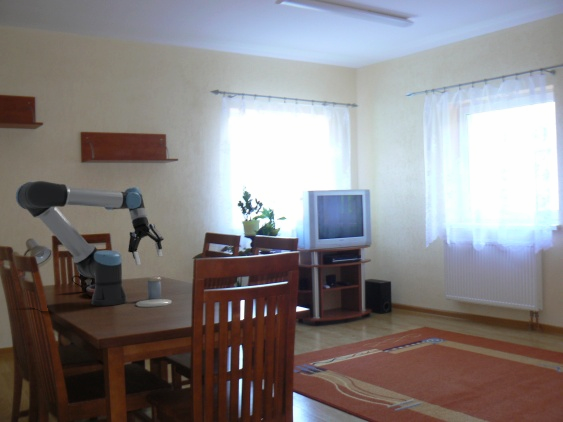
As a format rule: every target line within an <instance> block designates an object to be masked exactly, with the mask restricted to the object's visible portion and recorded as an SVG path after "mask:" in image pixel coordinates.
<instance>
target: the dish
mask: <svg viewBox="0 0 563 422" xmlns="http://www.w3.org/2000/svg"><path fill="white" fill-rule="evenodd" d="M86 290H87V292H86V293H87V294H88V296H90V297H93V294H94V290H95V284H94V285H90V286H88V287H87V288H86Z"/></svg>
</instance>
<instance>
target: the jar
mask: <svg viewBox="0 0 563 422" xmlns="http://www.w3.org/2000/svg"><path fill="white" fill-rule="evenodd" d="M146 282H147V300H154V299H162V276H152V277H151V276H150V277H146Z"/></svg>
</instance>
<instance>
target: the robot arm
mask: <svg viewBox="0 0 563 422" xmlns="http://www.w3.org/2000/svg"><path fill="white" fill-rule="evenodd" d="M15 200H16V202H17V204H18V206H19V207H21V209H24V210H26V211H28V212H29V213H30V214H31V216H32V217H33V218H36V219H37V218H39V220H41V222H42V223H43V224H44V225H45V226H46V227H47V228H48V230H49V231H51V234H53V235H54V237H56V238H57V240H58V241H59V242H60V243H61V244H62V246H63V247H64V248H65V249H66V250H67V251H68V252H69V253H70V254H71V255H72V256H73V263H74V264H75V265H76V269H77V271H78V274H79V273H80V274H81V275H83V276H85V277H88V278H95V290H94V294H93V297H92V296H91V297H92V298H91V305H92V306H98V307H102V306H117V305H122V304H123V305H124V304H126V303H128V302H127V301H128V297H127V294H126V292H125V289H124V287H123V269H122V267H123V266H122V262H123V261H122V260H123V259H122V253H121V252H119V251H116V250H109V249H107V250H106V249H105V250H104V249H103V250H99V249H98V248H97V247H96V246H95V245H94V244H89V243H88V241H86V239H85V238H84V237H83V236H82V235H81V234H80V233H79V231H78V230H77V229H76V228H75V227H74V226H73V224H72V223H71V222H70V221H69V219H67V217H66V216H65V215H64V213H62V212H61V210H60V209H59V208H61V207H65V206H66V205H67V206H68V205H69V206H82V207H85V206H86V207H97V208H98V207H99V208H105V210H107V211H108V210H109V211H110V210H111V211H113V210H129V215H130V220H131V223H132V228H133V229H134V231H130V232H129V242H128V249H127V252H128V253H131V254H132V259H134V261H135V264H136V265H135V266H139V265H140V266H141V265H142V263H141V259H140V254H139V251H137V250H138V247H139V245H140V243H141V240H143V239H144V238H145V237H149V239H151V240H152V241H154V242H155V243H154V246H155V249H156V253H157V257H161V258H162V257H164V255H163V252H162V249H163V246H162V241H164V237H163V236H162V235H161V233H160V231H158V230H157V227H156V226H155V224H154V223H149V219H148V217H147V211H146V207H145V203H144V200H143V195H142V191H141V189H140V188H139V187H137V186H135V187H129V188H127V189H126V190H124V191H118V190H117V191H116V190H108V189H107V190H106V189H105V190H104V189H93V188H85V187H84V188H83V187H82V188H81V187H71V186H70V187H69V186H67V185H66V184H64V183H55V182H50V181H46V180H45V181H43V180H38V181H37V180H36V181H28V182H25V183H23V184H21V185H20V186H19V187H18V188H17V190H16V193H15ZM58 207H59V208H58ZM150 230H151V231H150ZM80 274H79V275H80Z"/></svg>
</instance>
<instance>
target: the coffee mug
mask: <svg viewBox="0 0 563 422" xmlns="http://www.w3.org/2000/svg"><path fill="white" fill-rule="evenodd" d="M78 274H79V275H73V276H72V277H71V282H72V283H73V284H75V285H76V286H78V287H80V288H81V293H88V292H87V290H86V288H87V287H88V286H90V285H94V284H95V278H88V277H85V276H83V275H81V274H80V273H79V272H78ZM75 277H77V278H79V280H80V284H79V283H76V282H75V281H74V278H75Z"/></svg>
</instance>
